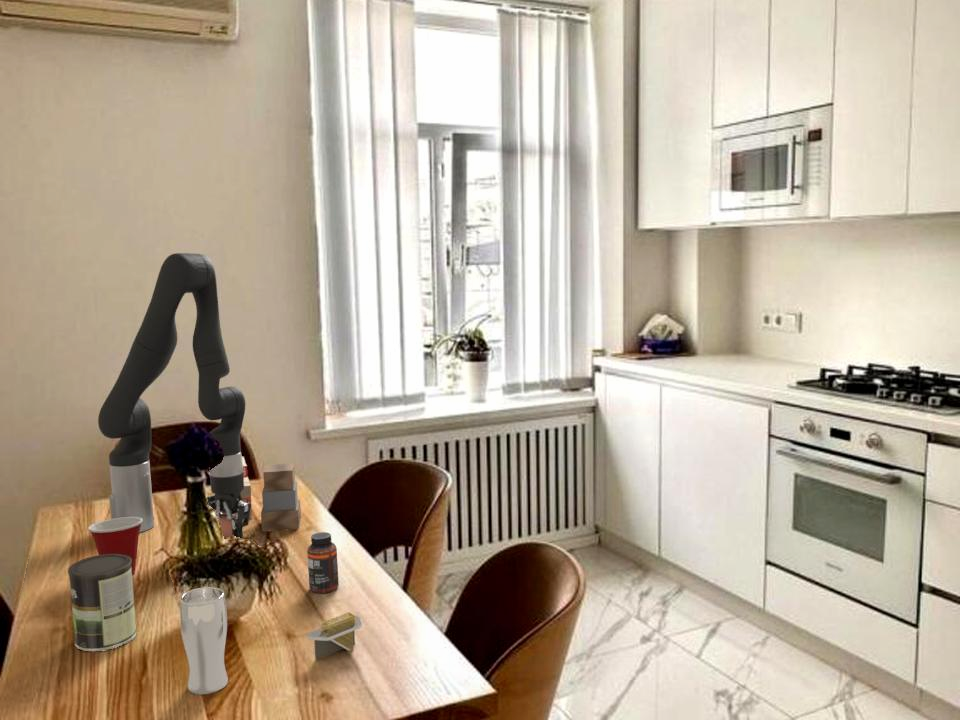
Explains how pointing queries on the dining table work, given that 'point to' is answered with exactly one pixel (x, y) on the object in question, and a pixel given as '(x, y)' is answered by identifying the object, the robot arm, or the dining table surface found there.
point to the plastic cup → (117, 537)
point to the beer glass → (204, 638)
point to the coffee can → (102, 602)
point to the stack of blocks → (246, 488)
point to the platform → (335, 635)
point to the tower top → (279, 477)
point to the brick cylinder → (226, 526)
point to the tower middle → (280, 500)
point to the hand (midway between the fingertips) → (230, 540)
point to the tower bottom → (281, 519)
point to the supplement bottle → (322, 563)
